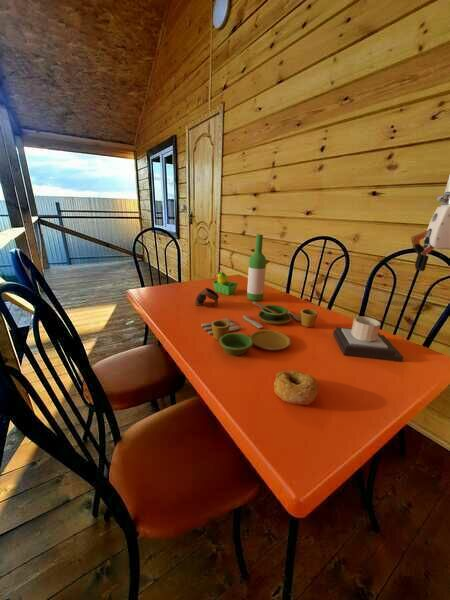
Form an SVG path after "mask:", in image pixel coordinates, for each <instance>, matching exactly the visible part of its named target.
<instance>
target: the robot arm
mask: <svg viewBox="0 0 450 600" xmlns="http://www.w3.org/2000/svg"><path fill="white" fill-rule="evenodd" d="M448 176H449V177H448V180H447V183H446V186H445V189H444V190H445V191H444V192H443V194H442V195H438V196H437V198H436V202H439V203H440V206H437V207H436V209H435V211H434V212H433V215H432V217H431V219H430V221H429V224H428V226H427V228H426V230H425V231H422V232H421V233H418V234H415V235H412V236H411V237H410V240H411V244H412V249H413V250H414V251H415V253H416V254H417V256H416V260H415V262H414V266H415V270H417V271H420V272H424V271H425V270H426V268H427V267H426V266H427V263H428V260H429V253H430V252H431V251H433V250H434V249H436V250H447V251H450V175H448ZM421 240H423V245H421Z"/></svg>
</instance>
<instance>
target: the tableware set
mask: <svg viewBox="0 0 450 600" xmlns="http://www.w3.org/2000/svg"><path fill="white" fill-rule="evenodd" d="M252 304H253V305H255V306H257V307H259V308H261V311H260V312H258V313H257V318H258V319H260V321H261V322H263V323H265V324H268V325H274V326H280V325H286V324H288V323H290V322H291V321H292V318H293V320H294V321H297V322H300V323H301V326H303V327H306V328H313V327H314V326H315V324H316V322H317V318H318V314H319V312H318V311H317V310H315V309H312V308H303V309H301V310H300V316H299V315H296V314H295V313H293V312H291V311H290V310H288V309H287V308H286V307H284V306H283V305H282V306H281V305H277V304H266V305H263V304H261V303H259V302H258V301H252ZM242 318H243V319H244V320H245V321H247V322H248V323H250V324H251V325H253V326H254V327H255V328H257V329H258V330H256V331H254V332H252V333H251V334H250V335H248V334H245V333H240V332H236V331H239V330H240V326H239V325H237V324H236V323H235V322H233V321H232V319H230V318H222V319H216V320H213V321H212V322H205V323H201V324H200V327H201V328H203V331H204V332H206V331H207V335H209V336H210V335H212V336H213V339H214V340H216V341H218V342H219V344H220V346H221V347H222V348H223V349H224V351H225V352H226V354H228V355H231V356H234V357H235V356H242V355H244V354H246V353H247V352H248V351H249V349H250V348H252V346H253V345H254V346H255V347H257V348H258V349H261V350H264V351H270V352H278V351H283V350H285V349H287V348H289V346H290V345H291V344H292V341H291V338H290V337H289V336H288V335H286V334H285V333H283V332H281V331H277V330H273V329H263V328H264V325H263V324H261V323H260V322H259V321H257V320H254V319H251V317H250V316H249V317H248V316H247V315H245V314H243V315H242ZM230 332H231V333H230Z"/></svg>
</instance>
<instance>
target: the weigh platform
mask: <svg viewBox="0 0 450 600" xmlns="http://www.w3.org/2000/svg"><path fill="white" fill-rule="evenodd" d="M341 328H342V329H341V331H342V333H343V334H344V336H345V338H346V339H347V341H348V343H349V344H350V345H358V346H367V347H377V348H386V349H388V346H387V345H386V344H385V343H384V342H383V341H382V339H381V338H380V337H379V336H377V340H375V341H372V342H366V341H361V340H358V339H356V338H355V337H353V335H352V334H351V331H352V328H350V329H343V328H344V327H341Z"/></svg>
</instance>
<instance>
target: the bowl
mask: <svg viewBox="0 0 450 600" xmlns="http://www.w3.org/2000/svg"><path fill="white" fill-rule="evenodd" d="M380 328H381V322H380V321H379V320H378V319H375V318H373V317H369V316H361V315H358V316H355V317H354V318H353V322H352V326H351V329H352V331H351V334H352V335H353V337H355V338H356V339H358V340H361V341H366V342H372V341H375V340H377V336H378V332H379V333H380Z"/></svg>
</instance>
